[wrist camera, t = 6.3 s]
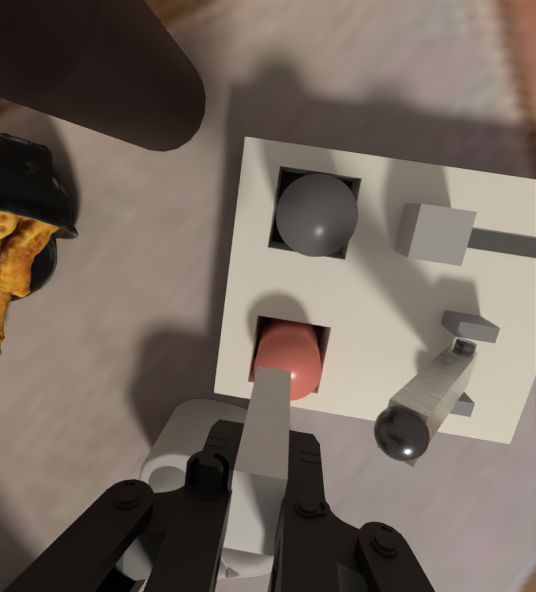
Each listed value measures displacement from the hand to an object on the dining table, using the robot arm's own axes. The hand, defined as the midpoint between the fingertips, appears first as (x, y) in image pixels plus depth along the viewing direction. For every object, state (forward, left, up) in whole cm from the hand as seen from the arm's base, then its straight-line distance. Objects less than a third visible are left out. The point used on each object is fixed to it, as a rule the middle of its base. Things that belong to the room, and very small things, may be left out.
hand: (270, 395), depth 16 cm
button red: (+1, -2, -12) cm, 13 cm away
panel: (+7, +3, -13) cm, 15 cm away
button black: (+1, +8, -11) cm, 14 cm away
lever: (+12, 0, -8) cm, 14 cm away
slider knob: (+8, +8, -9) cm, 15 cm away
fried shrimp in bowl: (-21, +1, -14) cm, 25 cm away
